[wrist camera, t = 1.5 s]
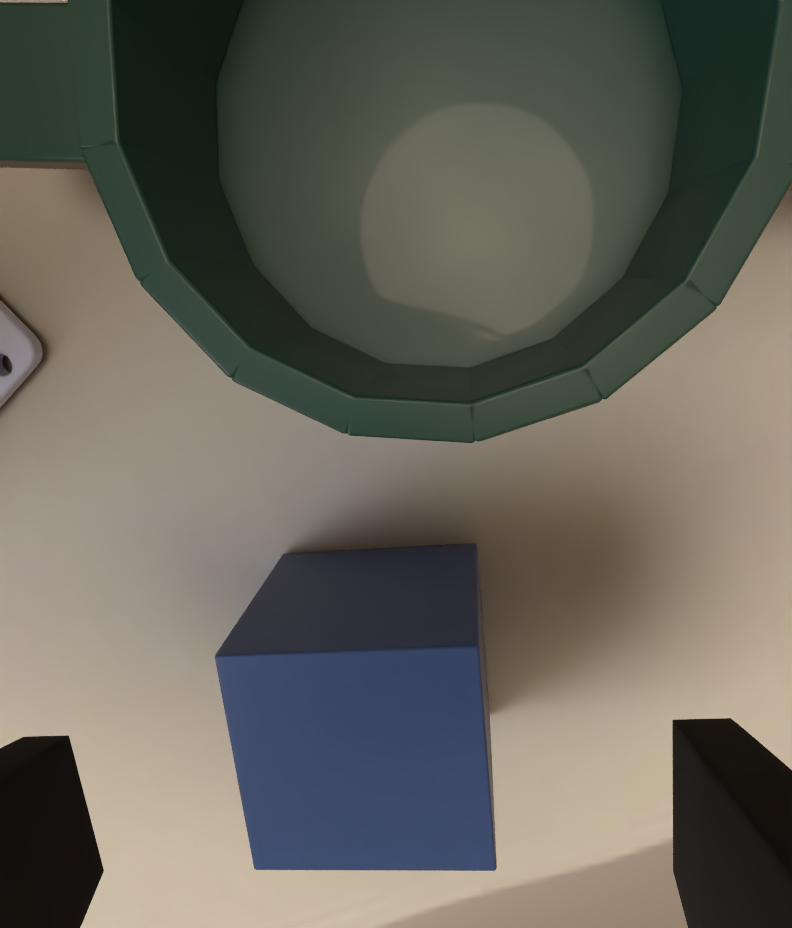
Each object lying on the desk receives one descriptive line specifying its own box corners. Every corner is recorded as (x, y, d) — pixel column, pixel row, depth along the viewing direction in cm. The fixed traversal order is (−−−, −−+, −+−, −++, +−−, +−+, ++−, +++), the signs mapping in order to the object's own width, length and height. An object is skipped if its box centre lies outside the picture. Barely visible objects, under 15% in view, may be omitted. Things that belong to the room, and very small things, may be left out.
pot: (788, 412, 16) (926, 471, 11) (96, 374, 17) (-45, 411, 12) (903, -176, 13) (1159, -442, 8) (55, -162, 14) (-152, -380, 9)
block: (476, 542, 17) (479, 645, 12) (490, 717, 18) (496, 872, 14) (282, 553, 18) (213, 655, 13) (308, 721, 19) (253, 871, 14)
